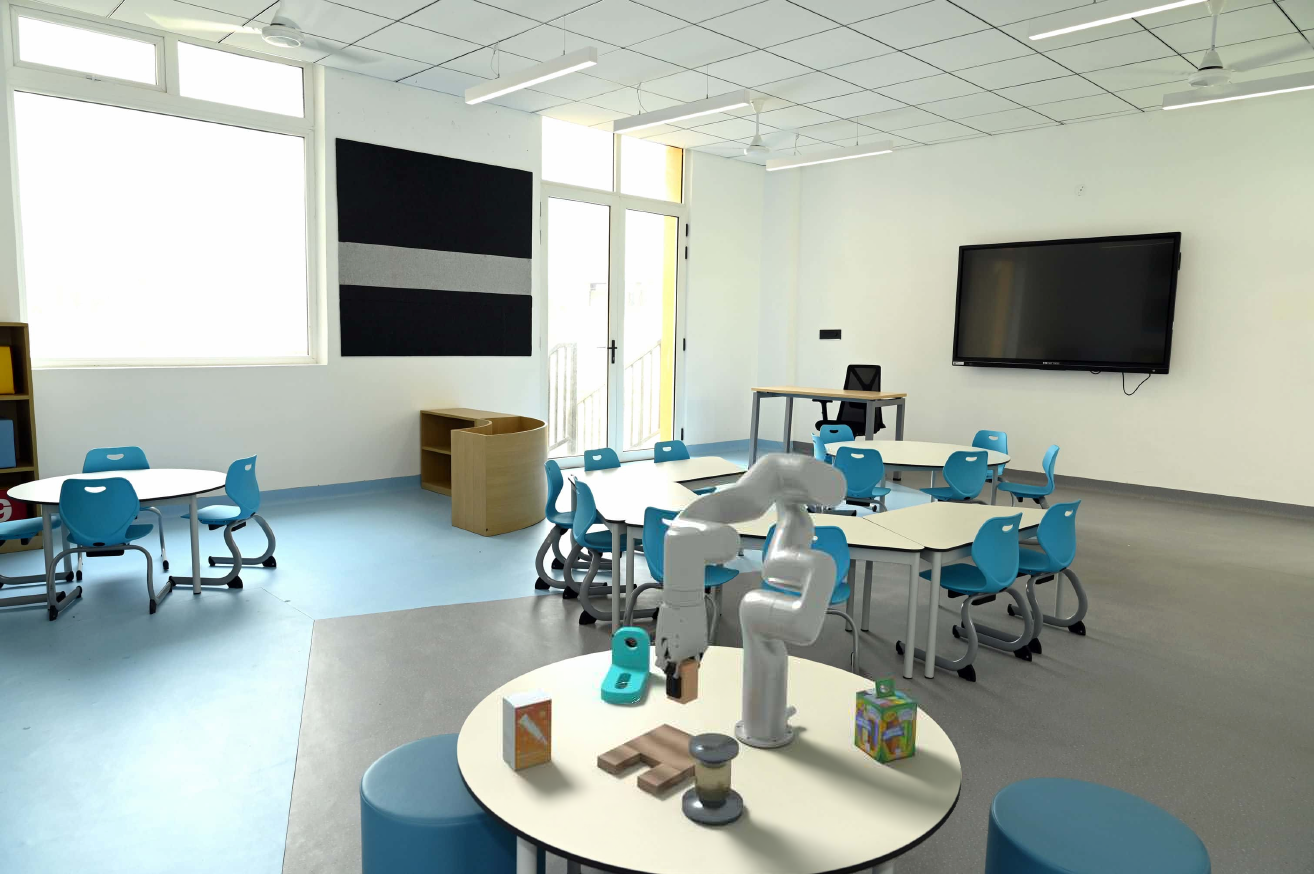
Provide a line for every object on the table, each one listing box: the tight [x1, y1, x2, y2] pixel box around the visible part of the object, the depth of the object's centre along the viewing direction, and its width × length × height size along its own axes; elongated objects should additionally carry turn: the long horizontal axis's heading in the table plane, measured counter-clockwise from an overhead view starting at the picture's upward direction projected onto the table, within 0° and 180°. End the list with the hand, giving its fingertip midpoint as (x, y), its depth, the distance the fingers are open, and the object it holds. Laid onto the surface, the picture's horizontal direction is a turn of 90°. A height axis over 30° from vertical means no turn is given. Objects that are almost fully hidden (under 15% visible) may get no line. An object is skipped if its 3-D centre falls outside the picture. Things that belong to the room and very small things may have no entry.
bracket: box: [600, 626, 651, 704], centre depth 199 cm, size 20×9×12 cm, turn 172°
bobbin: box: [681, 732, 744, 827], centre depth 146 cm, size 11×11×12 cm
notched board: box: [596, 723, 696, 797], centre depth 163 cm, size 20×16×2 cm
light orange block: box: [666, 658, 699, 705], centre depth 150 cm, size 4×4×7 cm
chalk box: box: [853, 677, 918, 763], centre depth 168 cm, size 9×9×15 cm
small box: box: [502, 688, 553, 771], centre depth 163 cm, size 8×6×13 cm
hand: (681, 691), depth 150 cm, fingers closed on light orange block, 4 cm apart
